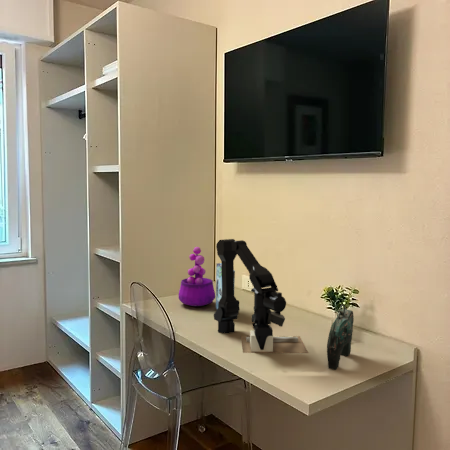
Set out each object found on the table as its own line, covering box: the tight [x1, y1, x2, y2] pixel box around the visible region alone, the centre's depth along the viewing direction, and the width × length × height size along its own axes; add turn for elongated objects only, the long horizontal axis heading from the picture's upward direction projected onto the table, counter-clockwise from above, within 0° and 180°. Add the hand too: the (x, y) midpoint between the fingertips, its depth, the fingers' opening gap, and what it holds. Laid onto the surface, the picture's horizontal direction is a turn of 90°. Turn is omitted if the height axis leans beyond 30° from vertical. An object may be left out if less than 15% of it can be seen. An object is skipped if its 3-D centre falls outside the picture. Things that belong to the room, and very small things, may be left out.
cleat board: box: [240, 335, 309, 354], centre depth 177 cm, size 24×18×3 cm
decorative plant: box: [178, 246, 216, 307], centre depth 235 cm, size 19×19×30 cm
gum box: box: [215, 262, 236, 310], centre depth 220 cm, size 20×5×23 cm, turn 13°
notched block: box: [249, 329, 274, 352], centre depth 172 cm, size 8×6×6 cm
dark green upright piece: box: [326, 303, 355, 371], centre depth 164 cm, size 20×6×20 cm, turn 150°
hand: (261, 346), depth 172 cm, fingers closed on notched block, 6 cm apart
